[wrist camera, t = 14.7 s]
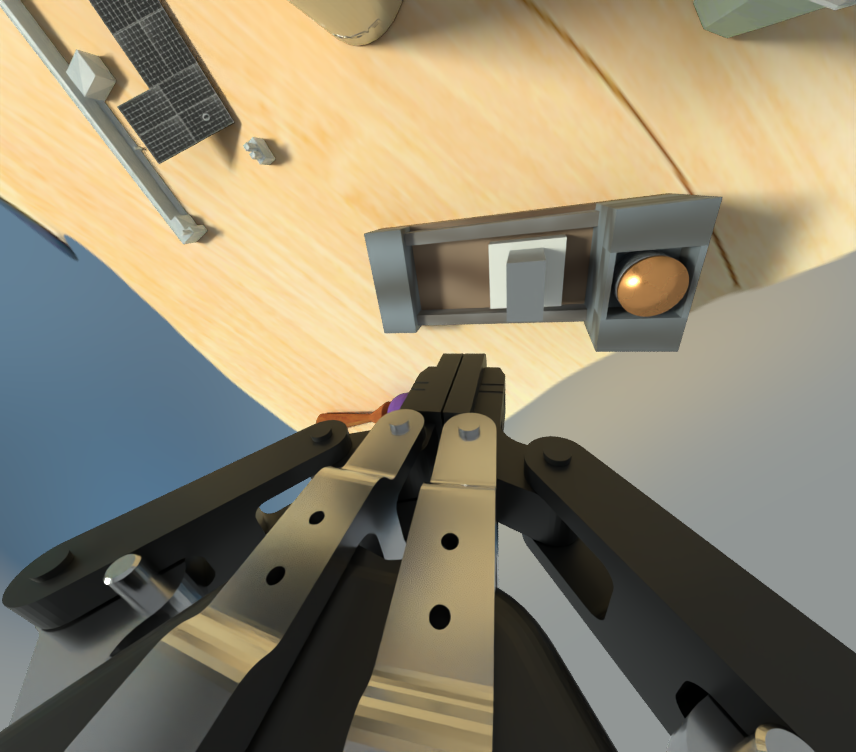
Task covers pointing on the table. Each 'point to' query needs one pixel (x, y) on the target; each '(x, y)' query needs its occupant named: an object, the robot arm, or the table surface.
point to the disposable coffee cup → (755, 13)
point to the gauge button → (649, 282)
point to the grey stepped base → (583, 272)
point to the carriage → (527, 275)
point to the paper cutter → (142, 96)
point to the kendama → (364, 418)
